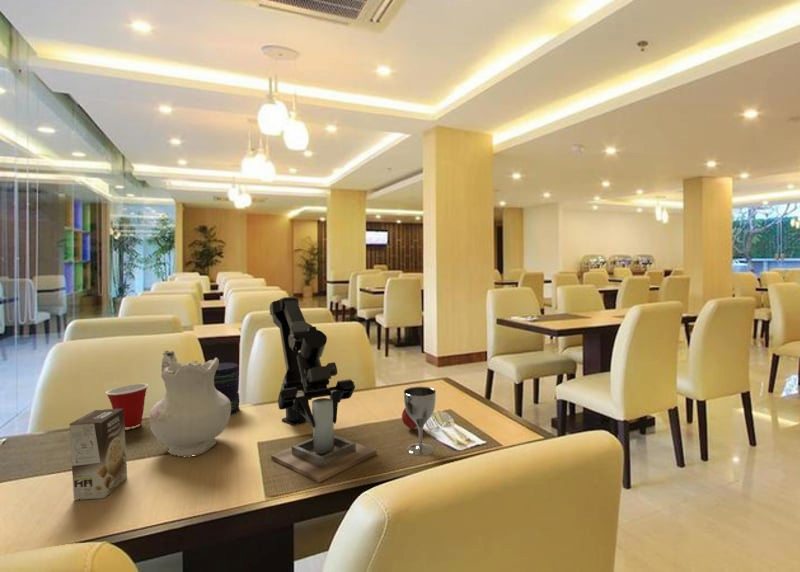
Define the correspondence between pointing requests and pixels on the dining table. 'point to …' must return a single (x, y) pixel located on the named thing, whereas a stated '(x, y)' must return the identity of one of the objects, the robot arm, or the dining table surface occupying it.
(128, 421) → the plastic cup
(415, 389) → the wine glass
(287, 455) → the collar board
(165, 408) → the ceramic pitcher
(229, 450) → the dining table surface
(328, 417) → the ceramic canister
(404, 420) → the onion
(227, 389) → the storage jar
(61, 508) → the dining table surface
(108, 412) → the coffee box
